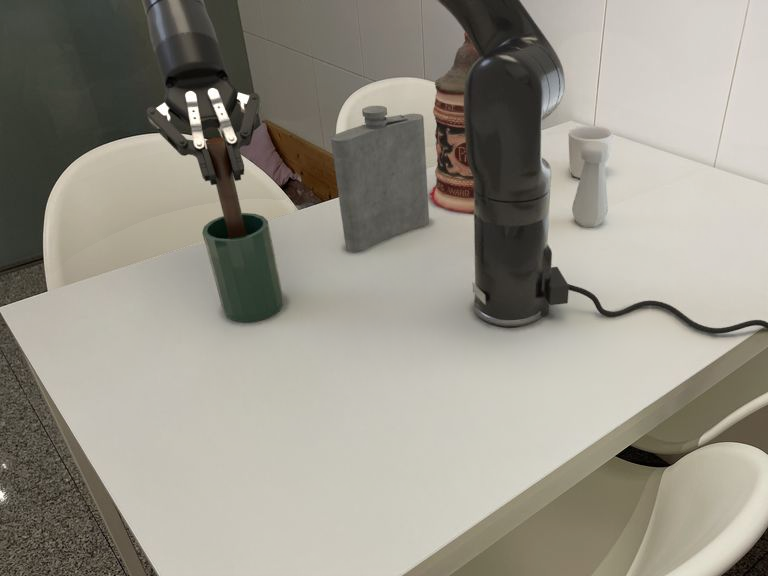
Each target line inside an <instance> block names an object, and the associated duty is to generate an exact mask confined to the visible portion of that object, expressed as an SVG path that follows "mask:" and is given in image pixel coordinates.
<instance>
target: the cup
mask: <svg viewBox="0 0 768 576" xmlns="http://www.w3.org/2000/svg"><path fill="white" fill-rule="evenodd" d="M567 134H568V135H567V136H568V160H569V161H568V162H569V163H568V165H569V172H570V173H571V174H572V175H573V176H574V177H575V178H578V179H580V177H581V173H582V169H583V166H584V162H585V161H584V160H583V159H582V157H581V152H582V147H583V146H584V145H585V144H586V143H589V142H602V143H605V144H606V145H607V146H608V147H609V153H610V151H611V147H612V142H613V137H614V134H613V132H612V131H611V130H610V129H609V128H606V127H604V126H603V127H602V126H598V125H581V126H576V127H574V128H571V129H570V130H569V131H568V133H567ZM608 162H609V159H608V160H607V161H605V171H606V170H607V166H608Z"/></svg>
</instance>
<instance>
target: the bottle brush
mask: <svg viewBox="0 0 768 576" xmlns="http://www.w3.org/2000/svg"><path fill="white" fill-rule="evenodd" d="M205 147H206V149H208V151H209V154H210V158H211V161H212V164H213V168H214V171H215V175H216V179H217V184H215V186H216V190H217V194H218V199H219V204H220V206H221V211H222V215H223V216H224V219H225V223H226V227H227V232H228V236H229V237H227V238H225V239H234V238H241V237H245V236H248V235H251V234H246V230H245V225H244V221H243V217H242V213H243V211H242V208H241V205H240V200H239V196H238V190H237V186H236V181H235V180H234V176H233V173H232V169H231V165H230V160H229V156H228V152H227V147H226V142H225V139H224V138H222V137H220V136H219V137H218V136H216V137H210V138H207V139H206V140H205Z"/></svg>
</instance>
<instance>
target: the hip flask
mask: <svg viewBox="0 0 768 576" xmlns="http://www.w3.org/2000/svg"><path fill="white" fill-rule="evenodd" d="M361 112H362V113H361V114H362V117H363V118H364V124H362V125H358V126H356V127H355V126H354V127H352V128H349V129H346V130H344V131H340V132H337V133H335V134H333V135H332V136H331V137H330V142H331V149H332V157H333V165H334V171H335V178H336V186H337V192H338V199H339V200H338V203H339V208H340V216H341V224H342V232H343V237H344V245H345V250H346V251H347V252H348V253H349V252H350V253H360V252H363V251H365V250H367V249H368V248H369V247H372V246H374V245H376V244H379V243H380V242H383V241H385V240H388V239H390V238H392V237H395V236H397V235H401V234H403V233H406V232H410V231H412V230H415V229H420V228H424V227H426V226H428V225H429V224H430V212H429V211H430V210H429V193H428V176H427V174H428V173H427V159H426V158H427V157H426V139H425V121H424V120H425V119H424V115H423V114H421V113H406V114H397V115H391V116H388V109H387V107H386V106H383V105H369V106H365V107H363V108H362V109H361Z"/></svg>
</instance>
